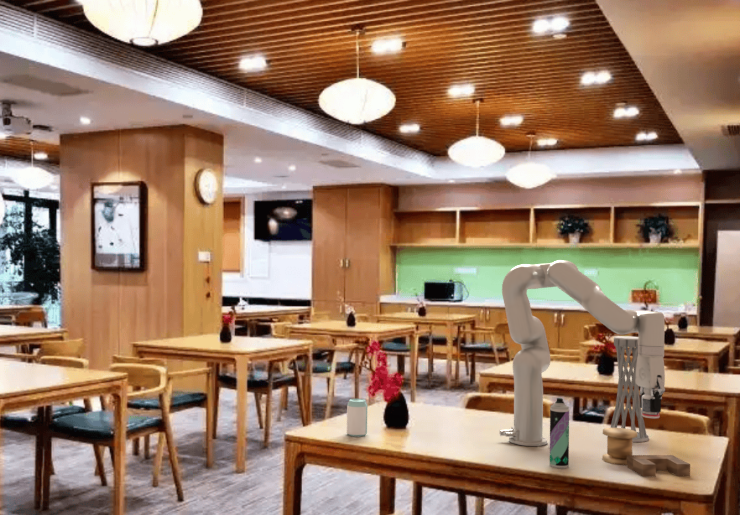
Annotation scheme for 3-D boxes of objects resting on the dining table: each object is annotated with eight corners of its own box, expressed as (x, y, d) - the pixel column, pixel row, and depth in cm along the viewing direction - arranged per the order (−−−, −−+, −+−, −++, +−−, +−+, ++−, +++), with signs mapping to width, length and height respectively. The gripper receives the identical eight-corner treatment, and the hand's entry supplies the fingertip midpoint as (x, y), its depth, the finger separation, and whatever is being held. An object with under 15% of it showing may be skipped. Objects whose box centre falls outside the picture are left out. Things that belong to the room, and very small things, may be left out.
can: (343, 435, 243) (344, 400, 244) (351, 431, 250) (352, 397, 250) (362, 437, 241) (362, 402, 241) (370, 433, 247) (370, 399, 248)
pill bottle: (661, 419, 217) (661, 390, 217) (643, 418, 217) (643, 389, 218) (657, 415, 222) (657, 387, 222) (639, 414, 223) (640, 386, 223)
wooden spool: (610, 465, 212) (611, 435, 212) (597, 456, 221) (597, 427, 222) (642, 465, 212) (643, 435, 213) (627, 456, 222) (628, 427, 223)
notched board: (643, 476, 200) (643, 464, 200) (626, 467, 210) (626, 455, 210) (690, 476, 201) (690, 464, 201) (671, 466, 211) (671, 454, 211)
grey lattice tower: (629, 443, 239) (629, 339, 240) (599, 435, 251) (599, 336, 252) (657, 439, 246) (657, 338, 247) (626, 431, 258) (627, 335, 258)
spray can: (546, 463, 212) (547, 396, 213) (564, 463, 213) (565, 396, 213) (553, 468, 207) (554, 399, 207) (571, 468, 207) (572, 399, 208)
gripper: (626, 348, 228) (625, 404, 228) (653, 354, 211) (653, 415, 211) (648, 348, 229) (647, 404, 229) (677, 354, 212) (676, 415, 212)
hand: (650, 409), depth 220 cm, fingers closed on pill bottle, 5 cm apart
